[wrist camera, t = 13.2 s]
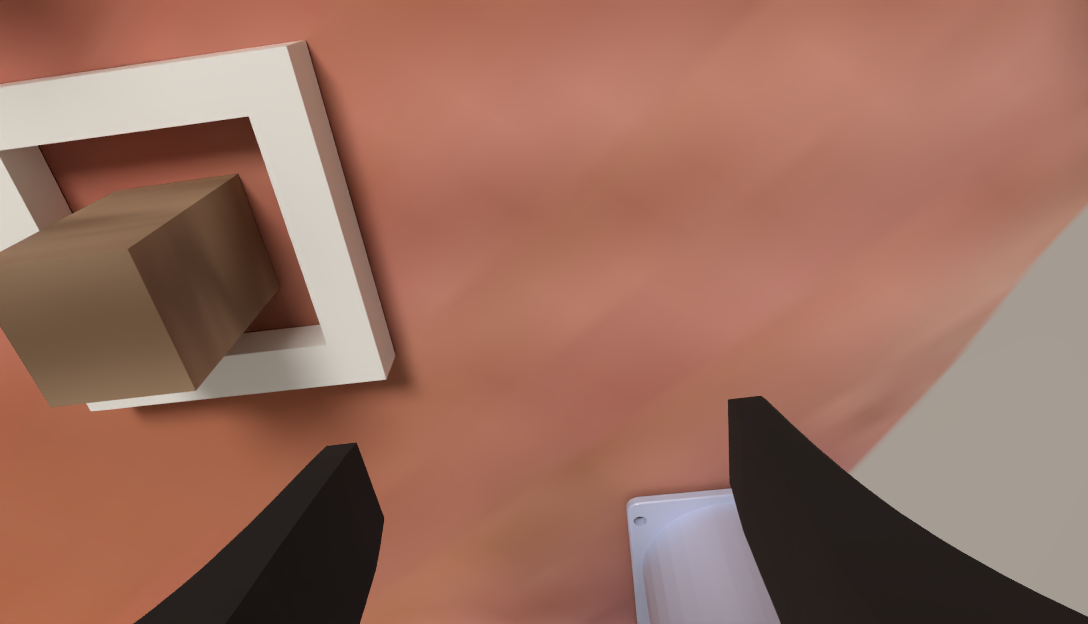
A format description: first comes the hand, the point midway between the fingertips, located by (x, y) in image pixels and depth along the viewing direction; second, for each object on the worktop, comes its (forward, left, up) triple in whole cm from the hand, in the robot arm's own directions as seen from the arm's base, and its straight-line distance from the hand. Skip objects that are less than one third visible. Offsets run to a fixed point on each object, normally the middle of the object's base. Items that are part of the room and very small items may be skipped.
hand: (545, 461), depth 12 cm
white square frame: (+2, +11, -10) cm, 15 cm away
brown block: (+2, +11, -10) cm, 15 cm away
